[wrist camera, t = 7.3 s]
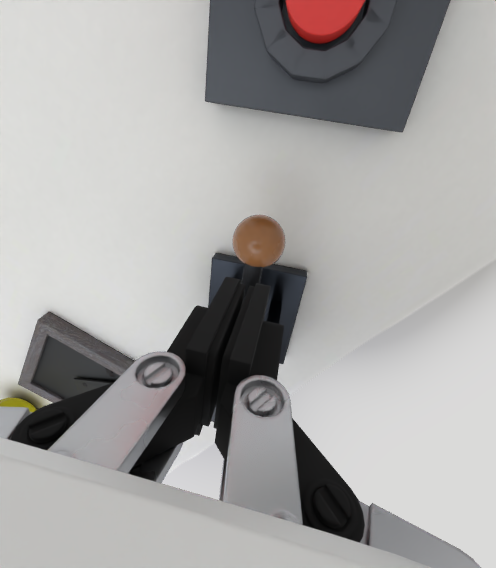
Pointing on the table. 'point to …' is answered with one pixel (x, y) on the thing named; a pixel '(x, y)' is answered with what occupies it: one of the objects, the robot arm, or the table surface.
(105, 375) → the picture frame
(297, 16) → the button
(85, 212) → the table surface
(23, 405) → the tennis ball
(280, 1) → the grey base plate
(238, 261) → the switch bracket
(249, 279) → the switch lever
